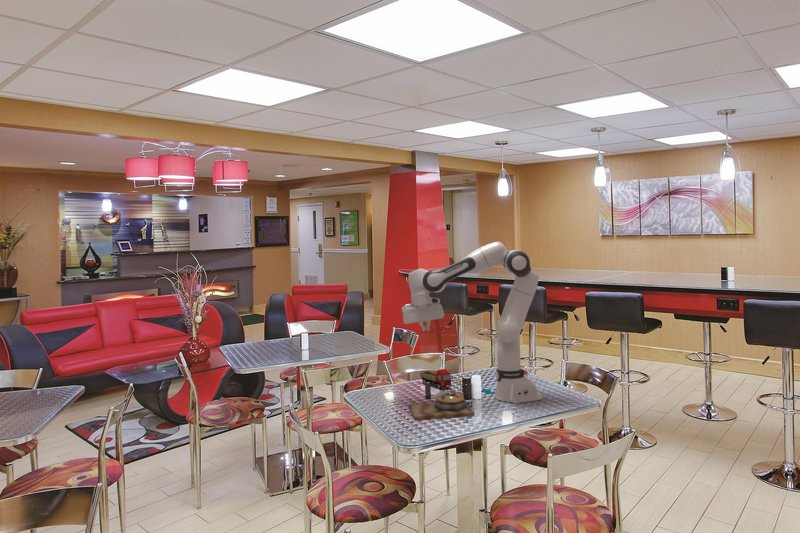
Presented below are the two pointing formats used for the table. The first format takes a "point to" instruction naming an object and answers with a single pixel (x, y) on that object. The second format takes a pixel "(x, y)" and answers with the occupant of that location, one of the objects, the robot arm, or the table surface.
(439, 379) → the toy truck
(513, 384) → the robot arm
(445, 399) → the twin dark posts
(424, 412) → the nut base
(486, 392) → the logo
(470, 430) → the table surface
